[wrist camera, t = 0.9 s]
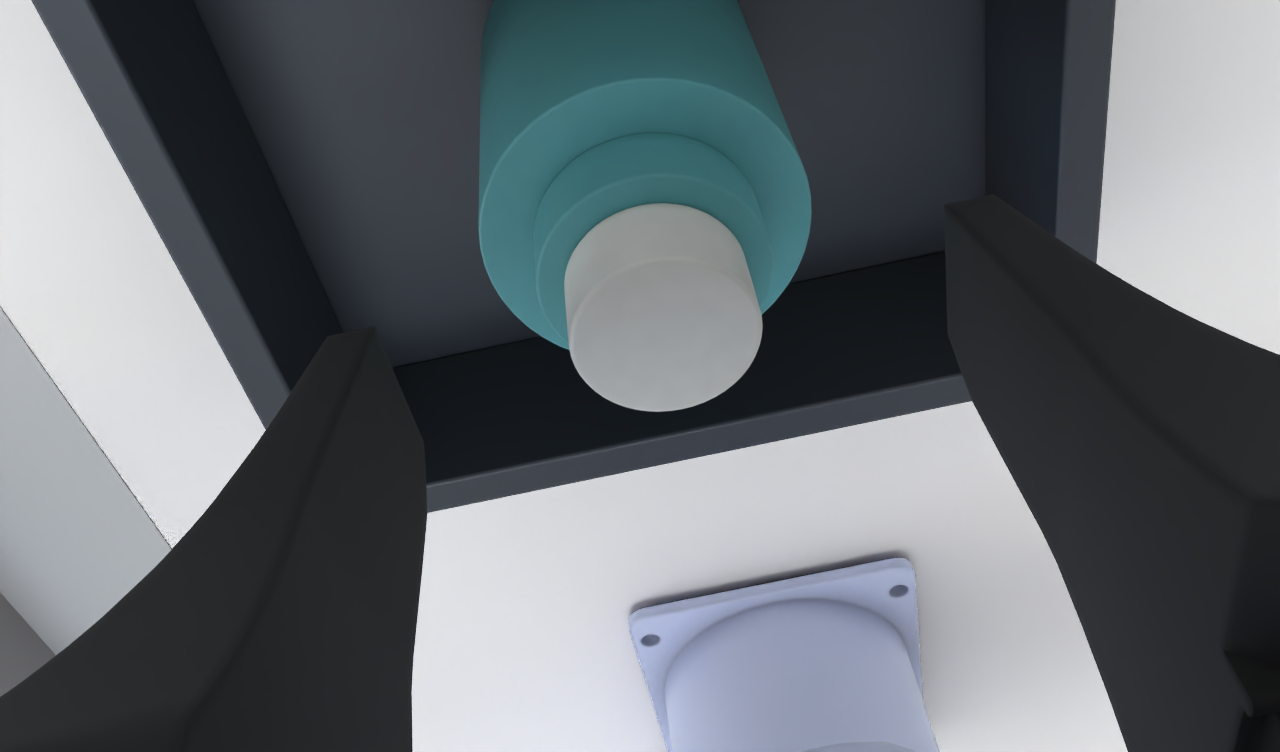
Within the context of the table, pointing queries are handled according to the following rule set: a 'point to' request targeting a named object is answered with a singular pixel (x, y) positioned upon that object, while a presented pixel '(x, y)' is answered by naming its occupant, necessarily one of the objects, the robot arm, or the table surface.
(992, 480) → the table surface
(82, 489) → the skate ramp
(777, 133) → the bottle
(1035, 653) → the table surface
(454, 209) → the bin
